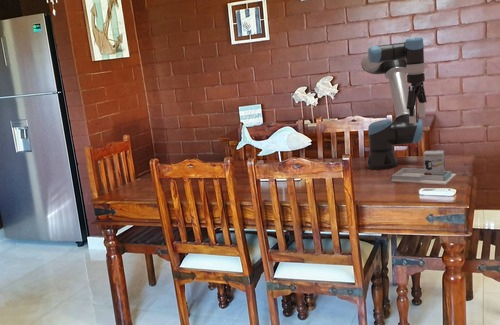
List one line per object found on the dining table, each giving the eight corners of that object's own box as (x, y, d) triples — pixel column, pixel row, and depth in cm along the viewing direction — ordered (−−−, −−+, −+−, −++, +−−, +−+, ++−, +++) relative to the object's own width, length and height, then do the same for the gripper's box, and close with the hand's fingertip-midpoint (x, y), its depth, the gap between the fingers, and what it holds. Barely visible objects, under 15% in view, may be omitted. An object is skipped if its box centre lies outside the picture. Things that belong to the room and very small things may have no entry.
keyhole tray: (404, 172, 243) (403, 167, 242) (456, 175, 228) (455, 169, 228) (391, 181, 231) (391, 176, 230) (445, 184, 216) (445, 178, 216)
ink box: (423, 179, 226) (422, 153, 224) (425, 176, 230) (423, 150, 228) (444, 178, 222) (443, 152, 220) (445, 176, 227) (444, 150, 224)
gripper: (415, 69, 238) (417, 114, 243) (397, 77, 218) (400, 125, 224) (432, 69, 233) (433, 114, 239) (415, 76, 214) (417, 125, 219)
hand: (417, 120), depth 231 cm, fingers open, 13 cm apart
